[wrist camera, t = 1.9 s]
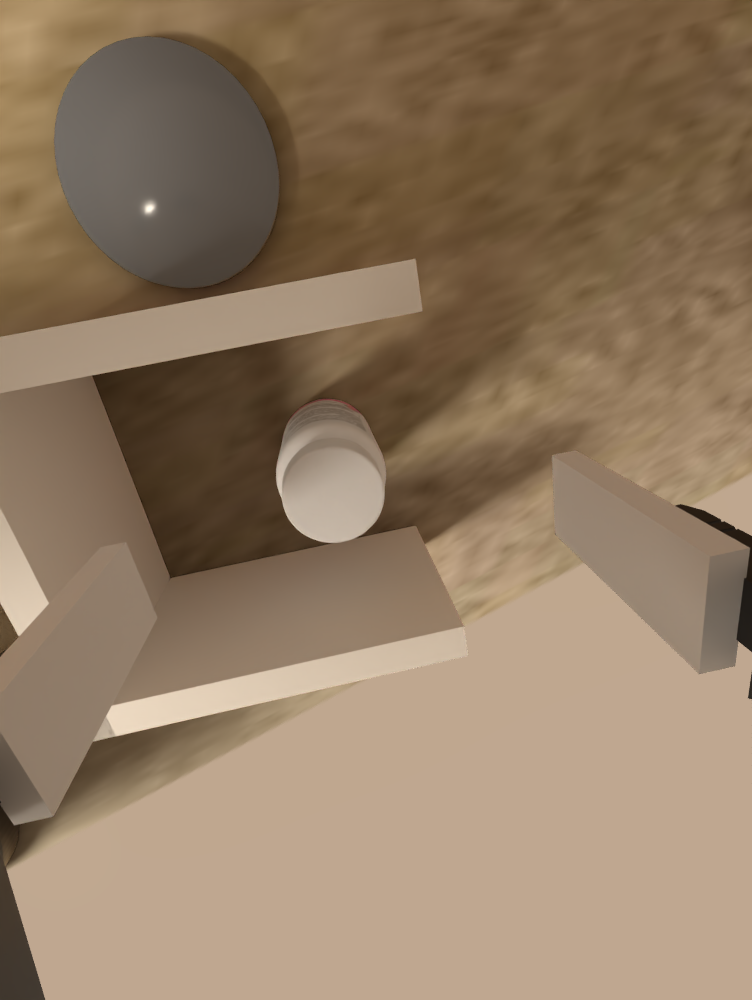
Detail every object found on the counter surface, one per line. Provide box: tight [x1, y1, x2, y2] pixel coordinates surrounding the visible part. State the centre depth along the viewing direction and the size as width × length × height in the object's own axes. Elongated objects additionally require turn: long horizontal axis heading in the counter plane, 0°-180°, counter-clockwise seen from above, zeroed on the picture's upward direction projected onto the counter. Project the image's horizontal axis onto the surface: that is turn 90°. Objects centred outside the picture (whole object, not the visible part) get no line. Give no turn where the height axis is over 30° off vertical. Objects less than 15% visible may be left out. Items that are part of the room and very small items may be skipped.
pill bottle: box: [276, 399, 386, 543], centre depth 23 cm, size 5×5×8 cm
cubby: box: [0, 259, 468, 741], centre depth 22 cm, size 16×15×10 cm
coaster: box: [54, 37, 280, 288], centre depth 21 cm, size 9×9×1 cm
